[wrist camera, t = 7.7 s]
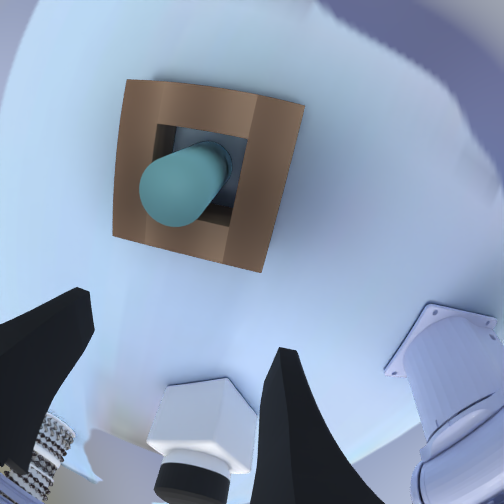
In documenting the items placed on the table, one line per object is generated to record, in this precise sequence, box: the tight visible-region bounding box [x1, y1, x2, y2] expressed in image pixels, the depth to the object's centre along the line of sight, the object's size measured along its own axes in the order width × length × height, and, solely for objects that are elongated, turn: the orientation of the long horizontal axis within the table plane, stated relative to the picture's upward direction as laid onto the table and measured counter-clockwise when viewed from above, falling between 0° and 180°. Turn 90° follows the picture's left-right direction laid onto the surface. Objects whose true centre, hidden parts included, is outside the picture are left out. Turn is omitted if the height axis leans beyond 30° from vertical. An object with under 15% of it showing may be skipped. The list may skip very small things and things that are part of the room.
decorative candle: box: [0, 412, 76, 504], centre depth 28 cm, size 9×9×25 cm
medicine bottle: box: [147, 378, 257, 504], centre depth 22 cm, size 7×7×12 cm
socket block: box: [113, 79, 305, 273], centre depth 16 cm, size 9×9×3 cm
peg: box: [139, 141, 232, 227], centre depth 14 cm, size 3×3×6 cm
